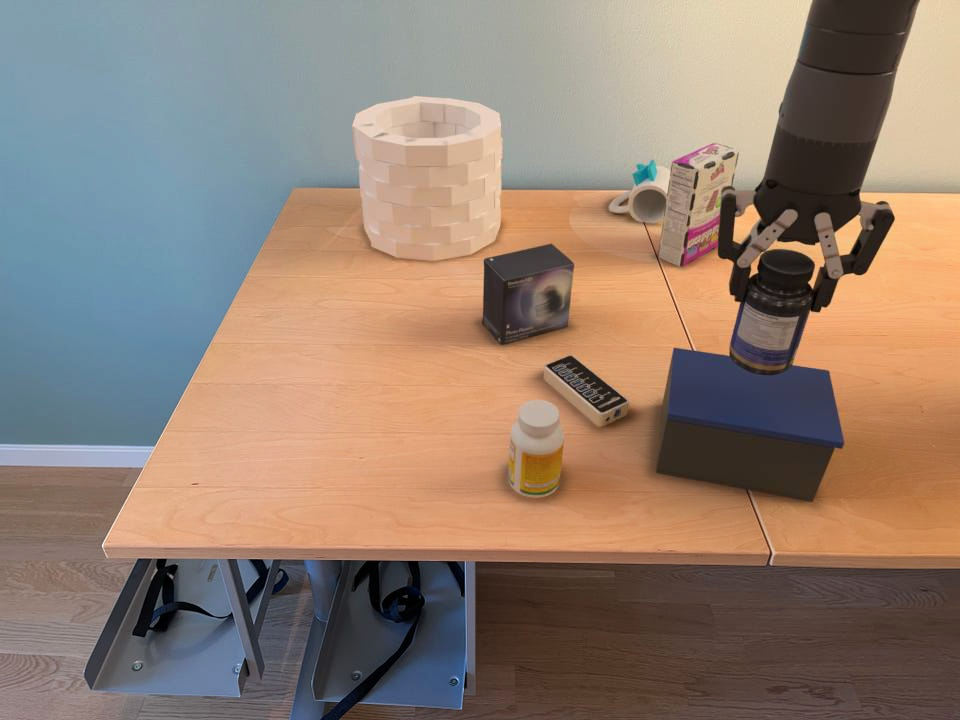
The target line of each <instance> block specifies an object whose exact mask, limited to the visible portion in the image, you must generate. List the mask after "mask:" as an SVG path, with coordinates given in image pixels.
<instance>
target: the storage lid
mask: <svg viewBox="0 0 960 720" xmlns="http://www.w3.org/2000/svg"><path fill="white" fill-rule="evenodd" d="M671 358H672V365H671V377H670V389H669V400H668V412H667V420H673V421H679V422H685V423H691V424H697V425H703V426H708V427H714V428H720V429H726V430H732V431H738V432H744V433H750V434H756V435H762V436H768V437H773V438H779V439H785V440H791V441H797V442H803V443H809V444H815V445H821V446H827V447H833V448H835V449H840V450H843V448H844V445H845V439H844V435H843V429H842V425H841V421H840V415H839V411H838V406H837V401H836V397H835V392H834V388H833V387H834V386H833V383H832V378H831V373H830V370H829V369H822V368H815V367H808V366H801V365H794V364H792V366H791V367H790V368H789V369H788V370H786V371H785V372H782V373H780V374H776V375H760V374H755V373H751V372H749V371H747V370H744V369H743V368H741V367H739V366H738V365H736V364H735V363H734V362H733V361H732V359H731V358H730V355H729V354H728V355H727V354H719V353H713V352H707V351H700V350H692V349H686V348H681V347H680V348H679V347H673V350H672V354H671Z"/></svg>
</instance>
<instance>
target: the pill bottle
mask: <svg viewBox="0 0 960 720" xmlns="http://www.w3.org/2000/svg"><path fill="white" fill-rule="evenodd" d="M815 269H816V263H815V261H814V260H813V259H812V258H811V257H810V256H808V255H806V254H805V253H803V252H800V251H797V250H793V249H786V248H772V249H767V250H766V251H765V252H762V253H761V254H760V255H759V260H758V264H757V266H756V270H757V272H756V273H754V274H752V275H750V277H749V281H748V284H747V288H746V292H745V296H744V300H743V302H739V306H738V310H737V315H736V319H735V322H734V326H733V329H732V334H731V338H730V343H729V349H728V350H729V353H728V356H730V358H731V359H732V361H733V362H734V363H735V364H736V365H738V366H739V367H741V368H743V369H744V370H747V371H749V372H751V373H755V374H760V375H776V374H780V373H782V372H785V371H786V370H788V369H789V368H790V367H791V366H792V365H794V361H795V359H796V355H797V352H798V350H799V346H800V344H801V341H802V337H803V334H804V331H805V327H806V325H807V322H808V319H809V315H810V312H811V307H812V303H813V300H814V291H813V287H812V285H811V284H810V283H809V282H810V281H811V280H812V279H813V277H814V272H815Z"/></svg>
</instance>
